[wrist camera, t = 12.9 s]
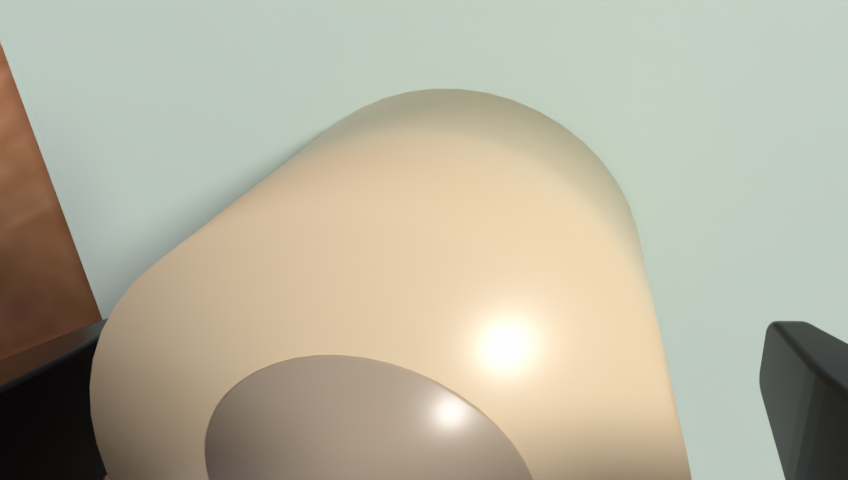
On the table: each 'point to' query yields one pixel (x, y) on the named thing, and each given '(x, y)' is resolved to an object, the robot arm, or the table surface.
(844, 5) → the lid
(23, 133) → the table surface
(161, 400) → the cream dome knob
